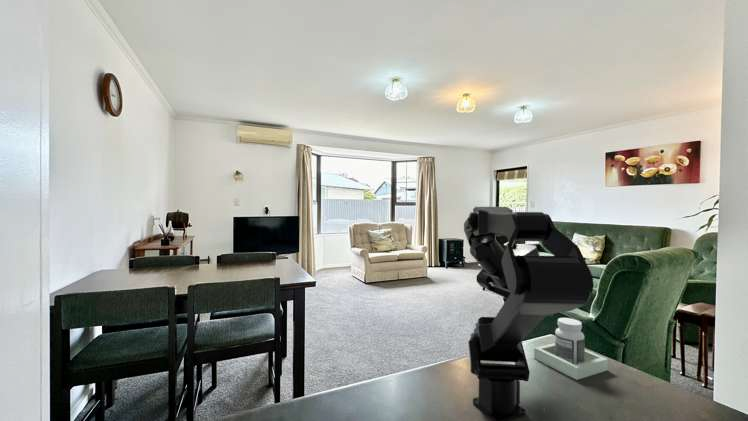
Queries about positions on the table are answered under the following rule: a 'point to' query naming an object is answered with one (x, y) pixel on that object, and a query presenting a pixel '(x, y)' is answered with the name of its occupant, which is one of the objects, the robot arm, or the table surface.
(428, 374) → the table surface
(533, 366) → the table surface
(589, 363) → the bottle holder
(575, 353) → the pill bottle
